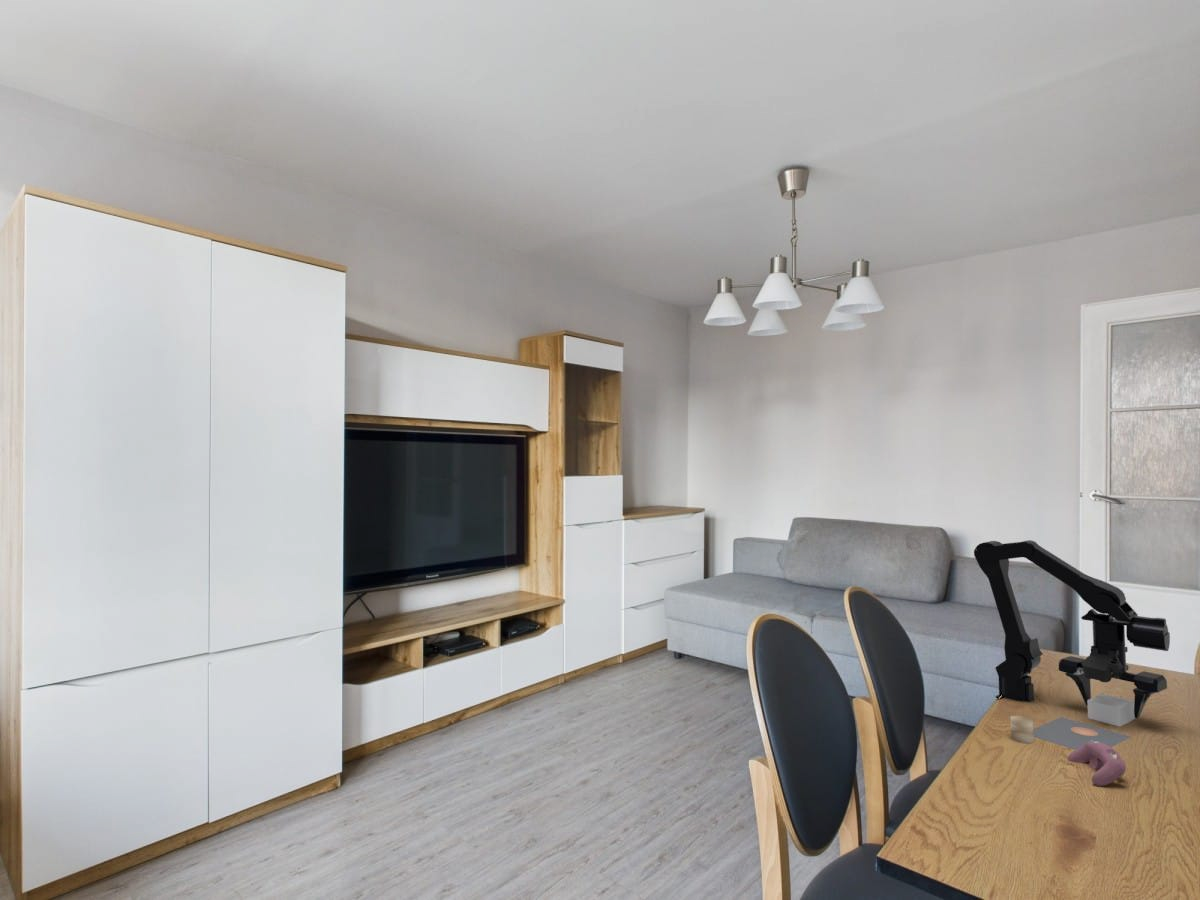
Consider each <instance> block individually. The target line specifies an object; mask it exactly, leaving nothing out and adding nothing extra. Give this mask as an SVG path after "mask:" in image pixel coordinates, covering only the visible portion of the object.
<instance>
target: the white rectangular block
mask: <svg viewBox="0 0 1200 900" xmlns="http://www.w3.org/2000/svg"><path fill="white" fill-rule="evenodd" d="M1134 701H1135V700H1131V699H1128V698H1122V697H1119V696H1115V695H1111V694H1105V693H1100V694H1098V695H1096V696H1094V697H1091V699H1089V700H1087V704H1088V706H1087V719H1091V720H1094V721H1097V722H1100V723H1105V724H1109V725H1113V726H1116V727H1119V728H1120V727H1122V726H1125V725H1127V724H1128V723H1130V722H1132V721H1134V720H1136V718H1135V716H1134Z"/></svg>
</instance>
